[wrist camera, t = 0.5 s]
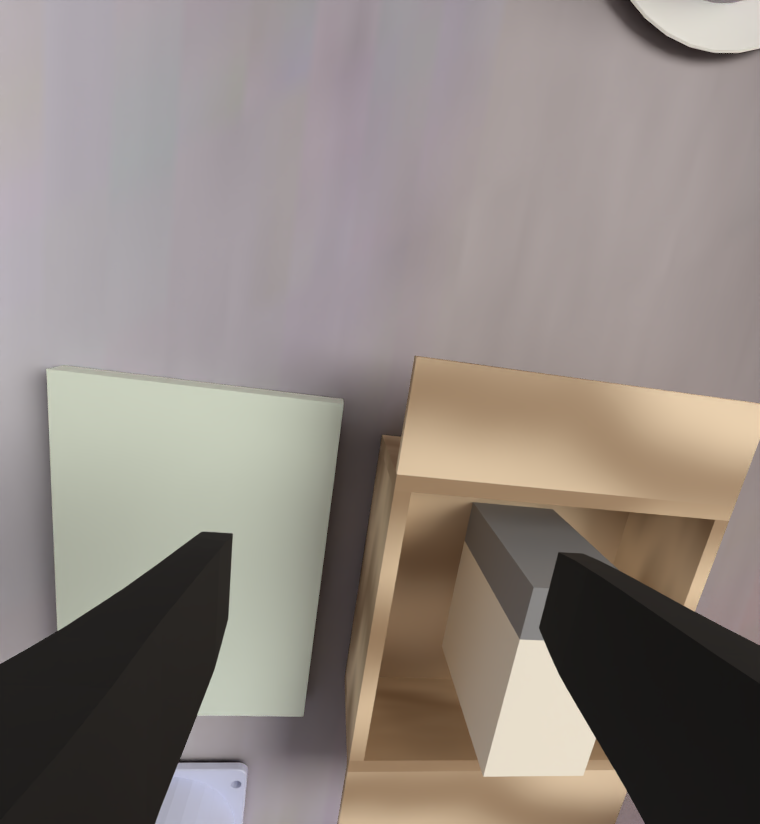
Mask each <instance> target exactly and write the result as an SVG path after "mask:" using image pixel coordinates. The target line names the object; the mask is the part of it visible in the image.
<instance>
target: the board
mask: <svg viewBox="0 0 760 824" xmlns="http://www.w3.org/2000/svg"><path fill="white" fill-rule="evenodd" d="M46 371H47V395H48V419H49V443H50V467H51V492H52V516H53V540H54V564H55V588H56V612H57V631H58V630H60V629H62V628H63V627H65V626H67V625H68V624H70V623H71V622H73V621H74V620H76V619H77V618H79V617H80V616H82V615H84V614H85V613H87V612H88V611H90V610H91V609H93V608H94V607H96V606H97V605H99V604H100V603H102V602H103V601H105V600H107V599H108V598H110V597H111V596H113V595H114V594H116V593H117V592H119V591H120V590H122V589H123V588H125V587H126V586H128V585H129V584H130V583H132V582H133V581H135V580H136V579H137V578H139V577H140V576H142V575H143V574H144V573H146V572H147V571H149V570H150V569H151V568H153V567H154V566H156V565H157V564H158V563H160V562H161V561H162V560H164V559H165V558H166V557H168V556H169V555H171V554H172V553H173V552H175V551H176V550H177V549H179V548H180V547H181V546H183V545H184V544H185V543H187V542H188V541H189V540H191V539H192V538H193V537H195V536H196V535H198V534H199V533H201V532H220V533H233V541H232V559H231V578H230V597H229V616H228V622H227V626H226V629H225V633H224V637H223V641H222V645H221V648H220V652H219V655H218V659H217V663H216V666H215V670H214V672H213V675H212V678H211V680H210V683H209V686H208V688H207V691H206V693H205V696H204V698H203V701H202V704H201V706H200V709H199V711H198V714H197V715H199V716H286V717H303V716H304V708H305V700H306V693H307V685H308V677H309V669H310V662H311V654H312V646H313V638H314V631H315V623H316V615H317V607H318V600H319V592H320V584H321V576H322V569H323V561H324V553H325V546H326V538H327V530H328V522H329V515H330V507H331V499H332V491H333V484H334V476H335V468H336V460H337V453H338V445H339V437H340V429H341V422H342V414H343V406H344V402H343V399H340V398H332V397H323V396H315V395H307V394H298V393H290V392H282V391H273V390H265V389H257V388H248V387H240V386H232V385H223V384H215V383H207V382H198V381H190V380H182V379H173V378H165V377H157V376H148V375H140V374H132V373H123V372H115V371H107V370H99V369H90V368H82V367H74V366H65V365H63V366H58V367H53V368H49V369H46Z"/></svg>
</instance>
